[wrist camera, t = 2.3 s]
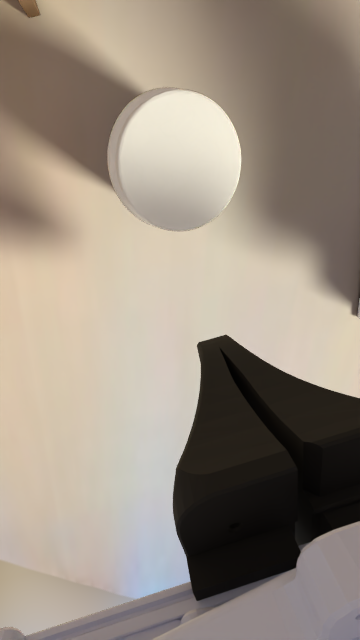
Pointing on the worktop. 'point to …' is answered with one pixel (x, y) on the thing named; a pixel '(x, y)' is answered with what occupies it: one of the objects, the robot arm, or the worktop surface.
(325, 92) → the worktop surface
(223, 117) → the supplement bottle
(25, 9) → the tag dock
